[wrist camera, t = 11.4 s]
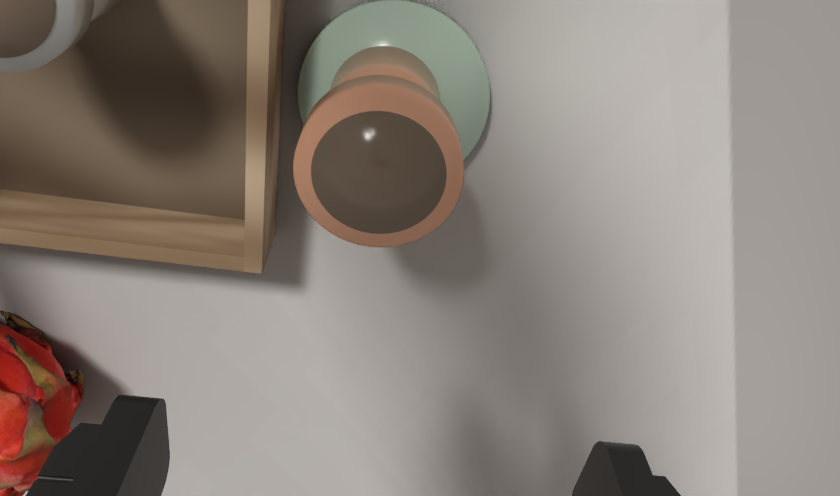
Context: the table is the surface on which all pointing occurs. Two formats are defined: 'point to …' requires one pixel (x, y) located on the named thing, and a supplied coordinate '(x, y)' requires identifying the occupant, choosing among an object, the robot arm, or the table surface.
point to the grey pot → (44, 29)
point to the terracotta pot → (380, 152)
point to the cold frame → (150, 137)
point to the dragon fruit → (31, 404)
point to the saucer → (416, 33)
